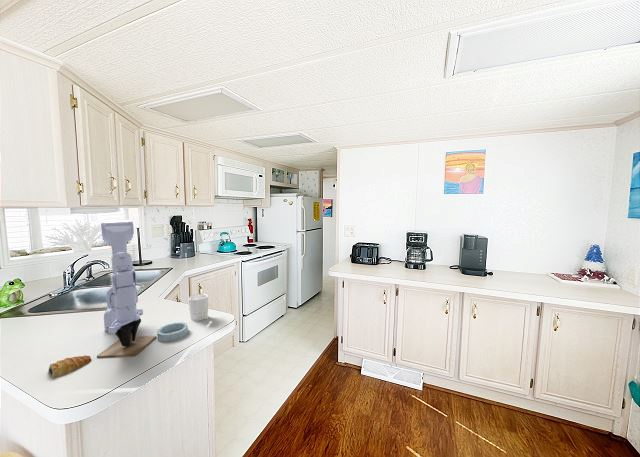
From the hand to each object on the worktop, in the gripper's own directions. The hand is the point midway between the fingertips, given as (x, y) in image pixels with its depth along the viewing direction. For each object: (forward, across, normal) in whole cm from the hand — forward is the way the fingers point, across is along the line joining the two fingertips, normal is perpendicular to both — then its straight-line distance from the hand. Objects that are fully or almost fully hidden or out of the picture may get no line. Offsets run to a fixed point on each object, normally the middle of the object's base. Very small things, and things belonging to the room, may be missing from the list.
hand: (128, 343), depth 89 cm
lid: (+1, 0, 0) cm, 1 cm away
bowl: (+2, +8, -11) cm, 14 cm away
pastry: (+3, -11, +11) cm, 15 cm away
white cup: (+2, +23, -15) cm, 28 cm away
